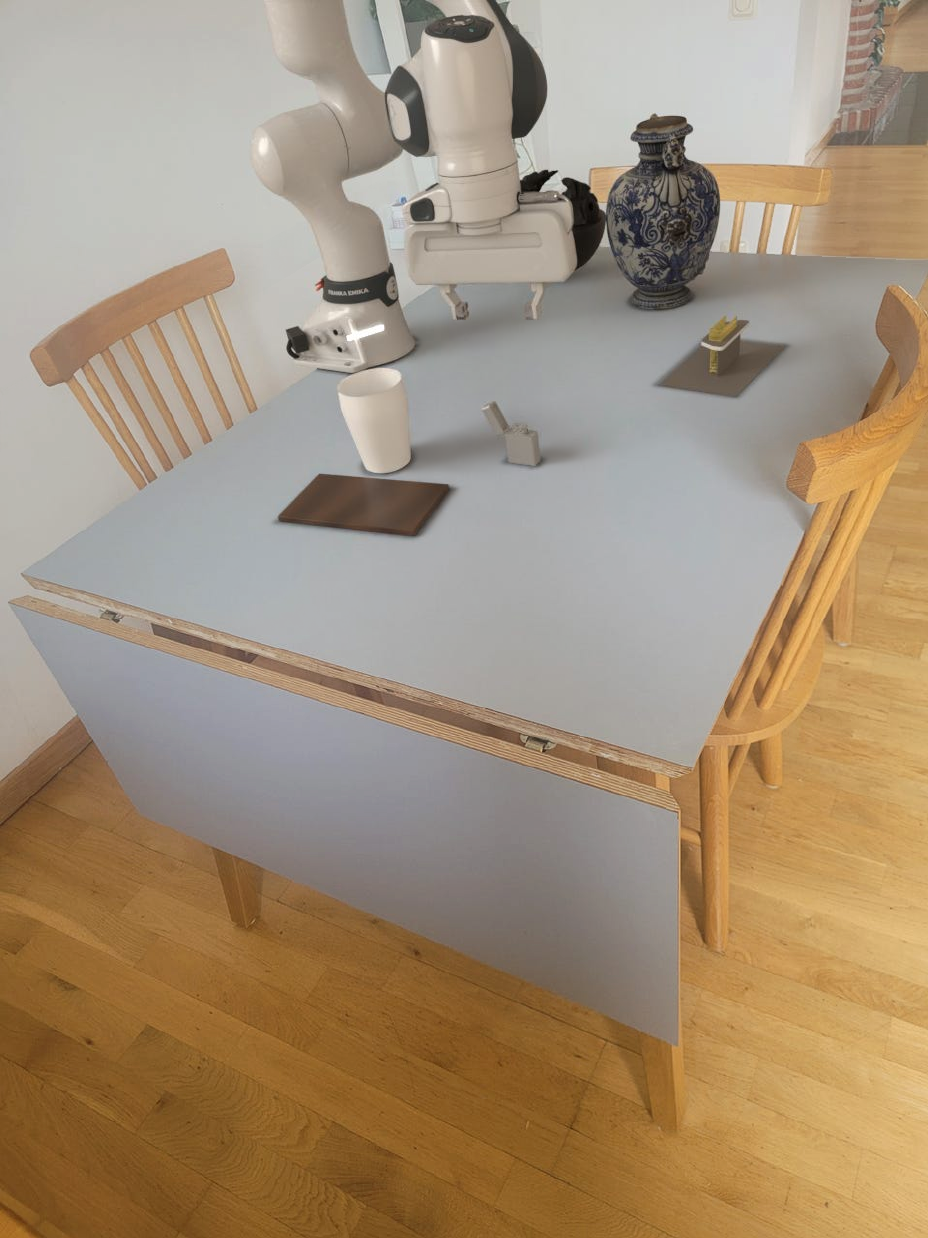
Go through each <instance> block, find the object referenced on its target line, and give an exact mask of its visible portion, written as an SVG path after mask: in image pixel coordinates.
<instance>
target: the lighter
mask: <svg viewBox="0 0 928 1238" xmlns="http://www.w3.org/2000/svg"><path fill="white" fill-rule="evenodd" d="M481 411H482V413H483V415H484V417H485V418H486V420H487V422H488V423H489V426H490V428H491V429H492V431H493V433H494V435H495V436H501V435H503V434H504V438H505V446H506V453H507V461H508V463H510V464H515V465H516V464H517V465H525V466H531V467H536V466H537V465H538V464H539V463H540V462H541V453H540V445H539V434H538V430H533V429H531V428H530V427H529V426H528V423H519V422H518V423H517V422H516V423H514V424H513V425H512V426H510V424H509V423H508V420H507V419H506V417H505V415H504V413H503V412H502V410H501V408H500V406H499V404H498V403H497V401H496V400H493V401H491V402H488V403H486V404H485V405H484V406H483V407H482V408H481Z"/></svg>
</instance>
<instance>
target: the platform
mask: <svg viewBox="0 0 928 1238" xmlns="http://www.w3.org/2000/svg"><path fill="white" fill-rule="evenodd" d="M748 327H750V320H747V319H738V315H735V316H734V318H733V319H732V320H731V321H727V315H723V317H722V318H721V319H719V321H717V322H716V323H715V324H714V325H713V326H712V327H711V328H709V331H708V333H707V334H706V335H705V336H704V337H703V338H701V342H700V343H701V344H700V346H699V347H698V348H697V349H695V351H694V352H692V354H690V355H689V356H688V357H687V358H686V359H685V360H684V361H683V362H682V363H680V364H679V365H678V366H677V367H676V368H675V369H674V370H673V371H672V372H671V373H670V374H669V375H667V376H666V377H665V378H664V379H663V380H662V381H661V382H659V384H658V386H662V387H669V388H676V389H680V390H681V389H683V390H688V391H693V392H702V393H709V394H714V395H720V396H721V395H722V396H728V397H735V398H736V397H738V396H739V395H740V394H741V393H742V392H743V391H744V390H745V388H747V386H748V385H749V384H750V383H751V382H752V381H753V380H754V379H755V378H756V377H757V376H758V375H759V374H760V373H761V372H762V371H763V370H764V369H765V368H766V366H767V365H769V364H770V363H771V361H772V360H773V359H774V358H775V357H776V356H777V355H778V354H779V353H780V352H781V351H782V350H783V349H784V348H785V345H780V344H770V343H762V342H754V341H746V340H745V341H744V340H741V334H743V332H744V331H745V330H746V329H747V328H748Z"/></svg>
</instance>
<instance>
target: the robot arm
mask: <svg viewBox="0 0 928 1238" xmlns="http://www.w3.org/2000/svg"><path fill="white" fill-rule="evenodd" d="M425 1H426V2H429V3H430V4H432V5H434V6H435V7H436V8H438V9H439V10H440V11H441V12H442V14H443V15H444V16H445V17H442V18H439V19H437V20H434V21H433V22H432V23H429V24H428V25H427V26H426V27H425V28H424V29H423V31H422V33H421V37H420V48H419V49H418V51H417V52H416V53H415V54H414V55H413V56H412V57H411V58H409V59H408V60H407V61H406V62H404V63H402V64H401V65H397V67H395V69H394V70H393V72H392V74H391V76H390V78H389V79H388V82H387V86H386V88H385V90H384V91H382V90H381V89H380V88H378V86H376V85H375V83H373V82H372V80H371V79H370V78H369V77H368V75H367V74H366V72H365V71H364V69H363V67H362V66H361V64H360V61H359V59H358V57H357V54H356V52H355V49H354V46H353V42H352V39H351V34H350V29H349V25H348V20H347V15H346V14H347V13H346V10H345V4H344V0H262V2H263V5H264V11H265V15H266V19H267V24H268V25H267V26H268V29H269V34H270V39H271V43H272V48H273V53H274V54H275V57H276V58H277V60H278V62H279V64H280V65H281V66H282V67H283V68H284V69H285V70H286V71H289V72H290V73H291V74H293V75H296V76H299V77H301V78H303V79H306V80H309V81H311V82H312V83H313V85H314V87H315V89H316V93H317V96H318V102H317V103H315V104H311V105H308V106H304V107H300V108H297V109H292V110H289V111H284V112H281V113H279V114H277V115H275V116H273V117H272V118H270V119H268V120H266V121H264V122H263V123H261V124H259V125H258V126H256V127H255V128H254V130H253V131H252V134H251V138H250V142H249V143H250V145H249V155H250V161H251V165H252V168H253V171H254V173H255V175H256V177H257V178H258V180H259V181H260V182H261V184H262V185H263V186H264V187H265V188H266V189H267V190H269V192H271V193H273V194H274V195H277V196H279V197H281V198H282V199H285V200H286V201H287V202H289V203H290V204H291V205H292V206H293V207H295V208H296V209H297V210H298V211H299V212H300V213H301V215H302V216H303V217H304V218H305V220H306V221H307V223H308V224H309V226H310V229H311V231H312V232H313V233H312V234H313V235H314V238H315V241H316V243H317V248H318V251H319V253H320V257H321V261H322V264H323V267H324V272H325V274H324V276H323V277H321V278H320V281H318V282H316V283H315V284H314V287H316V289H315V291H316V292H319V291H320V290H321V289H322V298H321V300H320V301H319V302H318V304H317V305H316V306H315V307H314V308H313V310H312V311H311V312H310V313H309V315H308V316H307V317H306V318H305V320H304V321H303V322H302V325H301V327H299V325H297V326H296V325H295V326H293V327H289V328H286V329H285V334H286V336H287V343H286V348H285V349H286V352H287V354H288V355H289V356H290V357H291V358H293V364H294V366H299V367H305V368H306V367H307V368H313V369H321V370H327V371H333V372H335V371H336V372H342V373H347V374H348V373H349V374H354V373H357V372H360V371H364V370H368V369H370V368H373V367H375V366H380V365H383V364H387V363H391V362H393V361H395V360H398V359H400V358H402V357H404V356H406V355H407V354H408V353H410V352H411V351H412V350H413V349H414V348H415V346H416V340H415V338H414V337H413V334H412V332H411V330H410V328H409V326H408V323H407V320H406V318H405V315H404V312H403V309H402V306H401V303H400V299H399V298H400V296H399V295H400V294H399V287H398V281H397V278H396V271H395V267H394V264H393V263H392V262H391V261H390V255H389V250H388V245H387V239H386V235H385V231H384V225H383V222H382V220H381V218H380V216H379V215H378V214H377V213H376V211H375V210H374V209H372V208H371V207H369V206H367V205H364V204H362V203H358V202H355V201H350V200H349V199H348V197H347V195H346V193H345V191H344V188H343V182H344V181H348V180H350V179H354V178H357V177H361V176H363V175H367V174H370V173H373V172H377V171H378V170H380V169H382V168H383V167H386V166H388V165H389V164H390V163H392V162H393V161H395V160H396V159H398V158H400V157H401V155H402V154H403V152H404V151H405V152H407V153H408V154H410V155H411V156H413V157H415V158H419V157H420V158H431V157H436V158H437V169H436V170H437V172H436V173H437V179H438V180H437V181H438V182H435V183H433V184H431V185H430V186H428V187H427V188H425V189H423V190H422V191H420V192H418V193H417V194H415V195H413V196H412V197H411V198H410V199H408V200H407V201H406V202H405V203H403V205H402V208H401V211H402V216H403V220H404V222H406V224H408V225H407V226H406V227H405V230H404V232H403V250H404V258H405V265H406V269H407V274H408V277H409V279H410V280H411V281H412V282H413V283H414V284H415V286H438V290H439V295H441V297H442V298H443V299H444V301H445V302H446V303H447V305H448V306H449V307H450V309H451V310H450V311H451V315H452V319H453V321H466V320H467V319H468V318H469V316H470V311H469V309H468V308H469V304H468V303H469V302H468V301H462V299H461V298H460V297H459V295H458V294H457V292H456V290H455V288H456V287H457V286H458V285H487V284H488V285H490V284H491V285H493V284H495V285H496V284H497V285H498V284H530V290H531V293H532V292H533V293H535V294H534V297H533V299H532V300H528V301H527V303H526V304H525V305H524V306H523V307H524V313H525V315H524V317H525V320H526V321H539V320H540V319H541V318H542V313H543V311H542V301H543V299H544V296H545V294H546V292H547V290H548V288H549V283H564V282H566V281H567V280H568V279H569V278H570V277H571V276H572V274H573V273H574V272H575V271H574V270H575V268H576V266H577V255H576V248H575V242H574V237H573V232H572V228H573V224H574V217H573V206H572V203H571V201H570V200H569V199H568V198H567V197H566V196H564V195H561V194H562V193H560V192H559V190H553V189H551V190H550V189H549V190H546V191H540V192H521V186H520V180H521V178H520V169H519V167H520V166H519V159H518V158H519V157H518V154H517V153H518V152H517V150H516V147H515V145H514V141H513V140H515V139H522V138H525V137H527V136H528V135H529V134H530V132H531V131H532V130H533V129H534V127H535V125H537V122H538V121H539V120H540V117H541V115H542V113H543V111H544V108H545V105H546V102H547V99H548V79H547V74H546V71H545V70H546V69H545V67H544V65H543V61H542V60H541V58H540V56H539V54H538V53H537V52H536V50H535V48H534V47H533V46H532V45H531V43H530V42H528V40H527V39H526V38H525V37H524V36H523V35H522V34H521V33H520V32H519V31H518V30H517V28H516V27H514V25H513V24H512V23H511V22H510V20H509V19H508V16H506V14H505V12H504V11H503V9H502V8H501V6H500V4H499V3H498V2H497V0H425ZM559 198H560V199H563V200H564V201H558V200H559Z"/></svg>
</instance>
